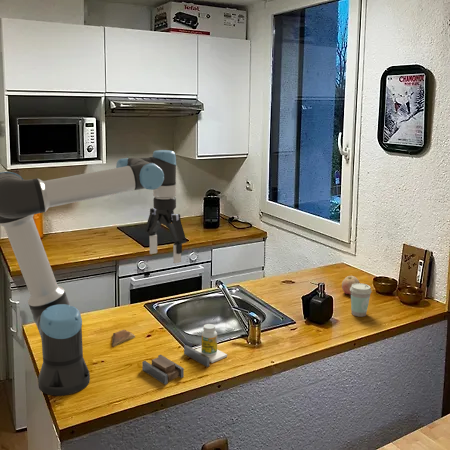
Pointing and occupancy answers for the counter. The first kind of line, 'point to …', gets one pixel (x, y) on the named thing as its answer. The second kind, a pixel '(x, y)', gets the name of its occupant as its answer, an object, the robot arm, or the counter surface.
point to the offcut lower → (172, 374)
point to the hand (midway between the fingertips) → (165, 257)
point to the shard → (121, 337)
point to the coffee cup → (360, 299)
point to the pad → (214, 357)
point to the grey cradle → (164, 377)
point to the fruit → (349, 283)
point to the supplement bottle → (209, 340)
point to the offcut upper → (163, 364)
